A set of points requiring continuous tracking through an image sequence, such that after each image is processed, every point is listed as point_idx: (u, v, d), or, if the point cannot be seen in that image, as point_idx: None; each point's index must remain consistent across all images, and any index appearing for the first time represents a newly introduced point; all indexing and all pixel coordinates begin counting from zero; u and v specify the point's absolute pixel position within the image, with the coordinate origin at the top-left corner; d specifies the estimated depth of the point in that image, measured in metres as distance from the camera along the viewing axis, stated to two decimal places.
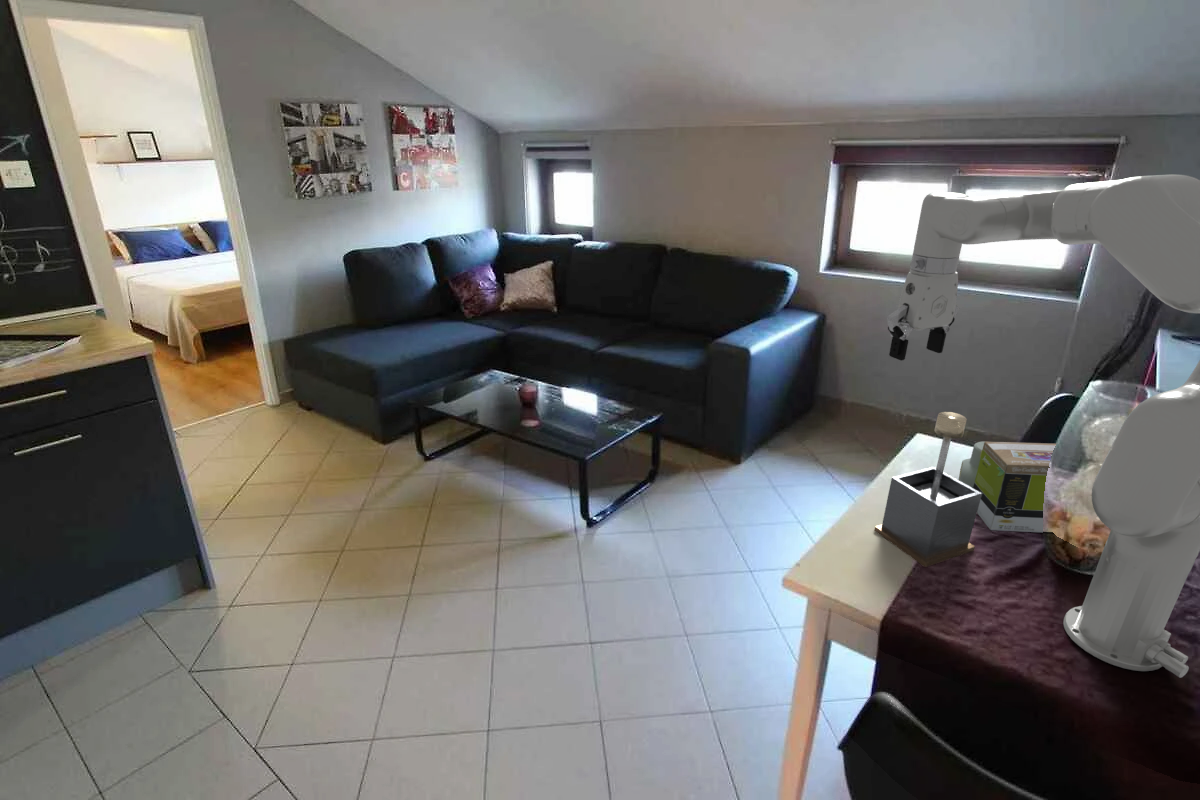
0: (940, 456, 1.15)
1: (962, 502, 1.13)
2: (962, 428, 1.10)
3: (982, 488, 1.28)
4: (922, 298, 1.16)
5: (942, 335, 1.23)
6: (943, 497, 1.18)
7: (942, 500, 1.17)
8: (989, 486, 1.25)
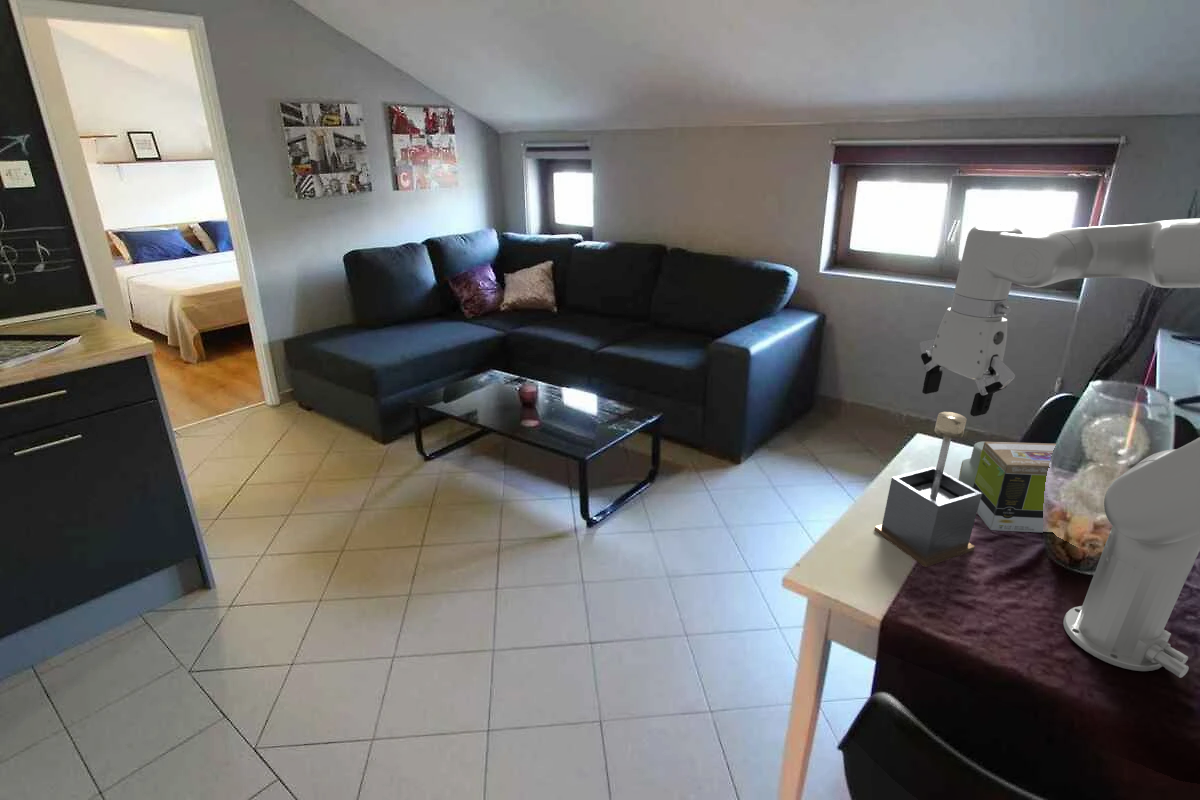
0: (940, 456, 1.15)
1: (962, 502, 1.13)
2: (962, 428, 1.10)
3: (982, 488, 1.28)
4: None
5: (941, 373, 1.14)
6: (943, 497, 1.18)
7: (942, 500, 1.17)
8: (989, 486, 1.25)
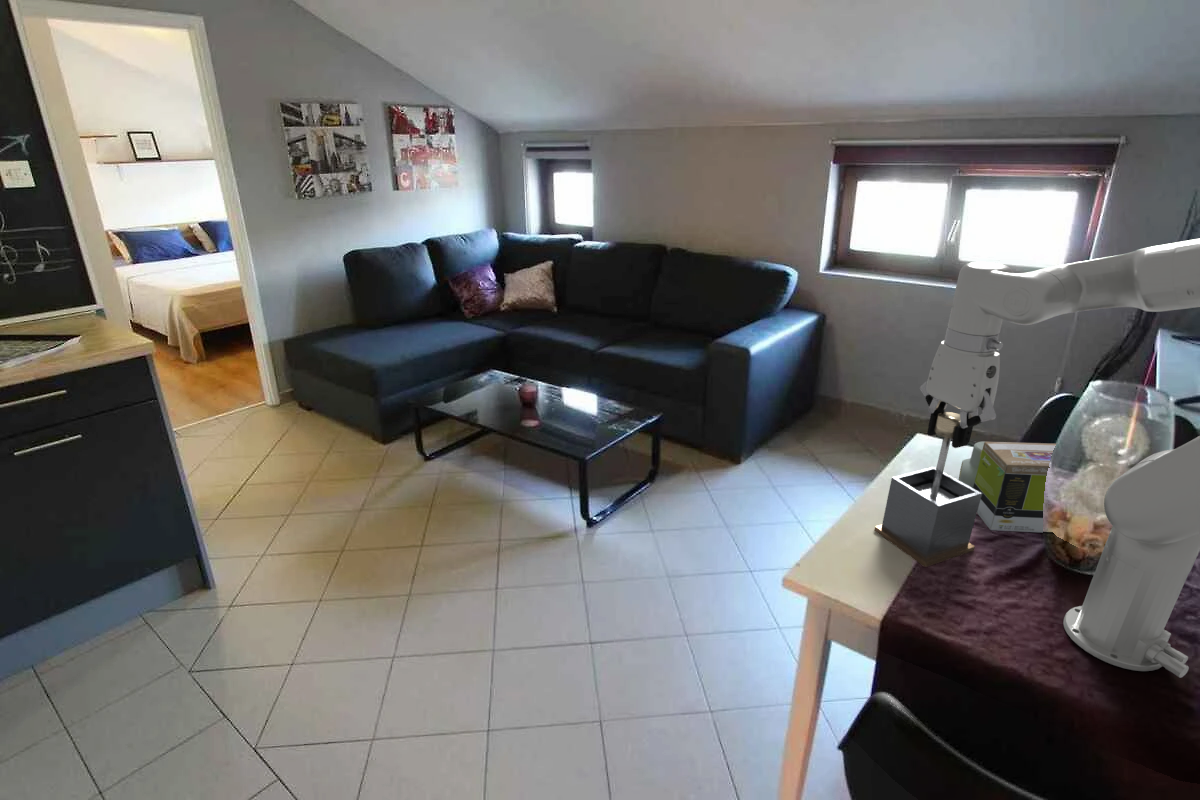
0: (940, 456, 1.15)
1: (962, 502, 1.13)
2: None
3: (982, 488, 1.28)
4: None
5: None
6: (943, 497, 1.18)
7: (942, 500, 1.17)
8: (989, 486, 1.25)
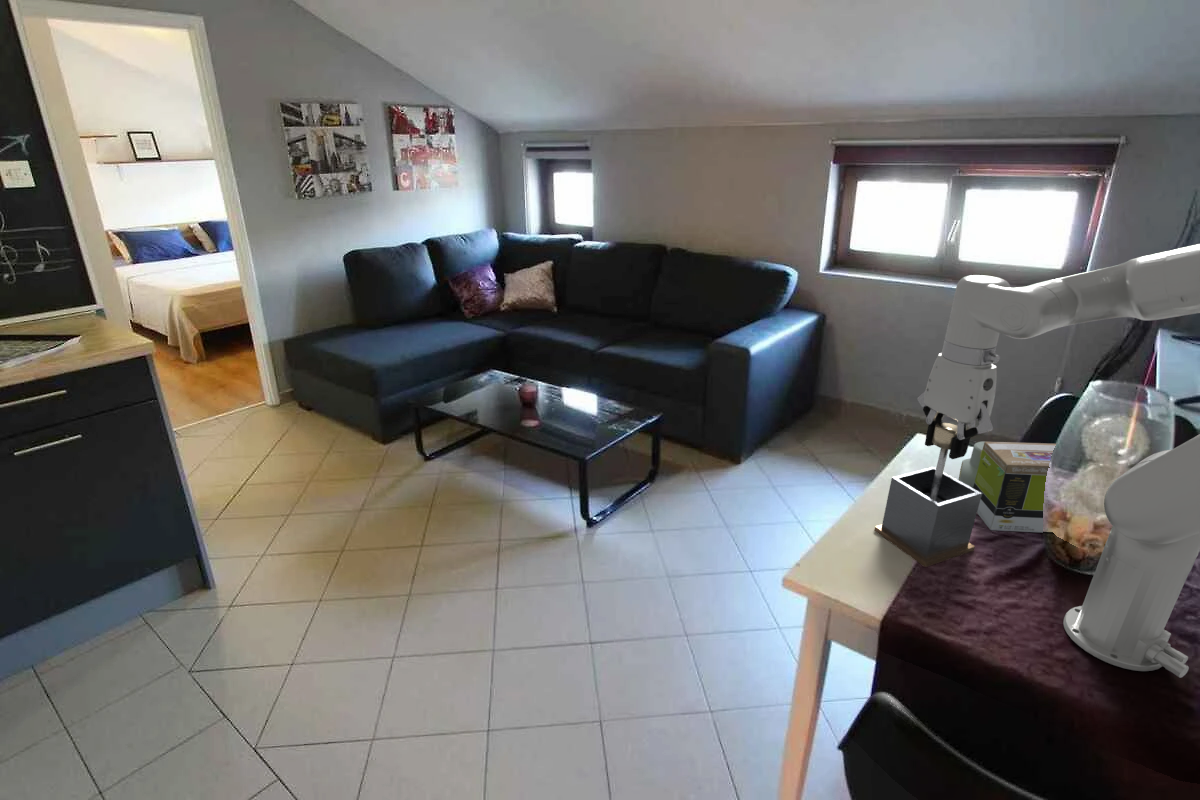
0: (937, 467, 1.15)
1: (962, 502, 1.13)
2: None
3: (982, 488, 1.28)
4: None
5: None
6: None
7: None
8: (989, 486, 1.25)
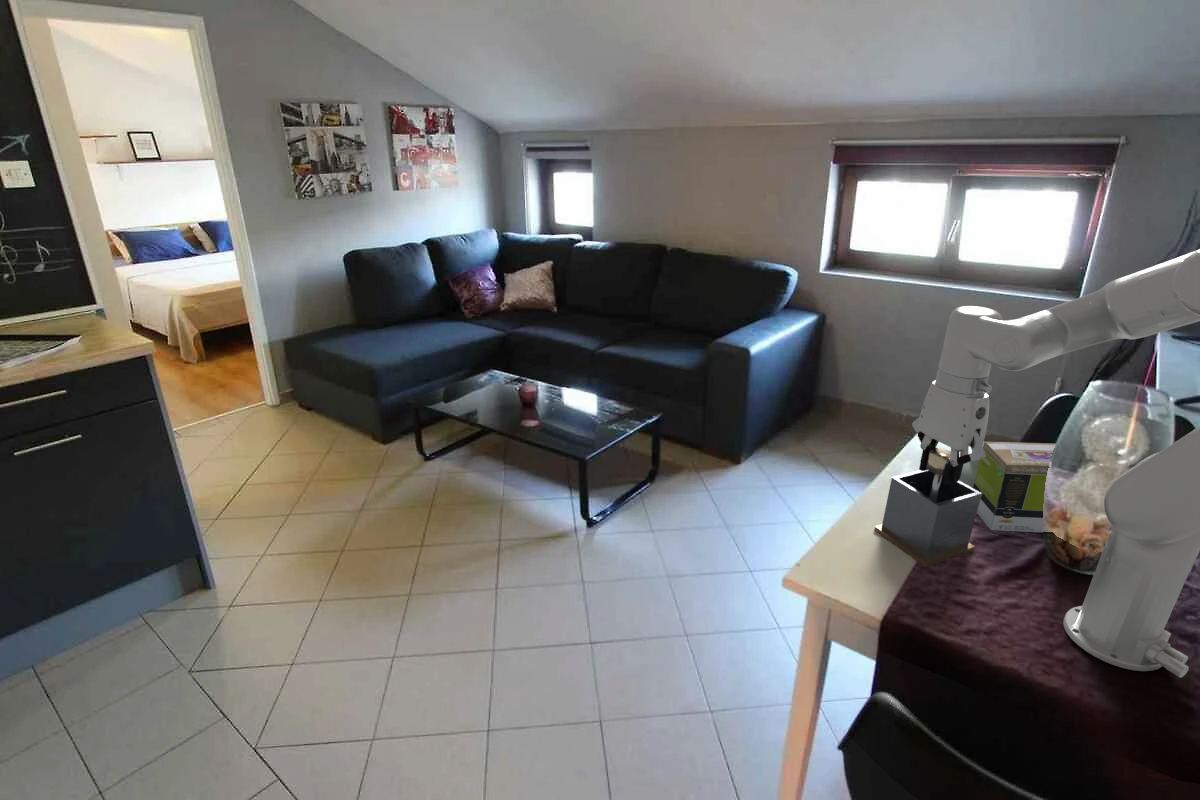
0: (932, 491, 1.17)
1: (962, 502, 1.13)
2: None
3: (982, 488, 1.28)
4: None
5: None
6: None
7: None
8: (989, 486, 1.25)
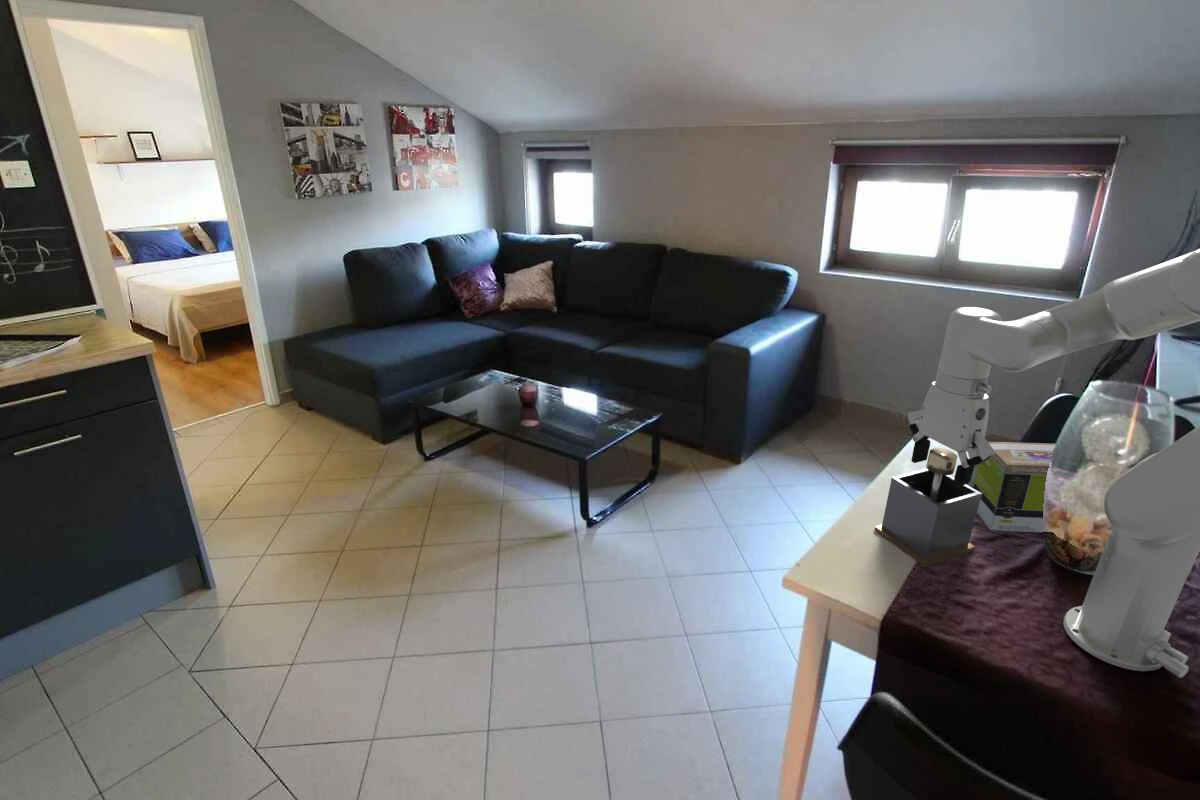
0: (932, 491, 1.17)
1: (962, 502, 1.13)
2: (953, 465, 1.13)
3: (982, 488, 1.28)
4: None
5: (929, 443, 1.19)
6: None
7: None
8: (989, 486, 1.25)
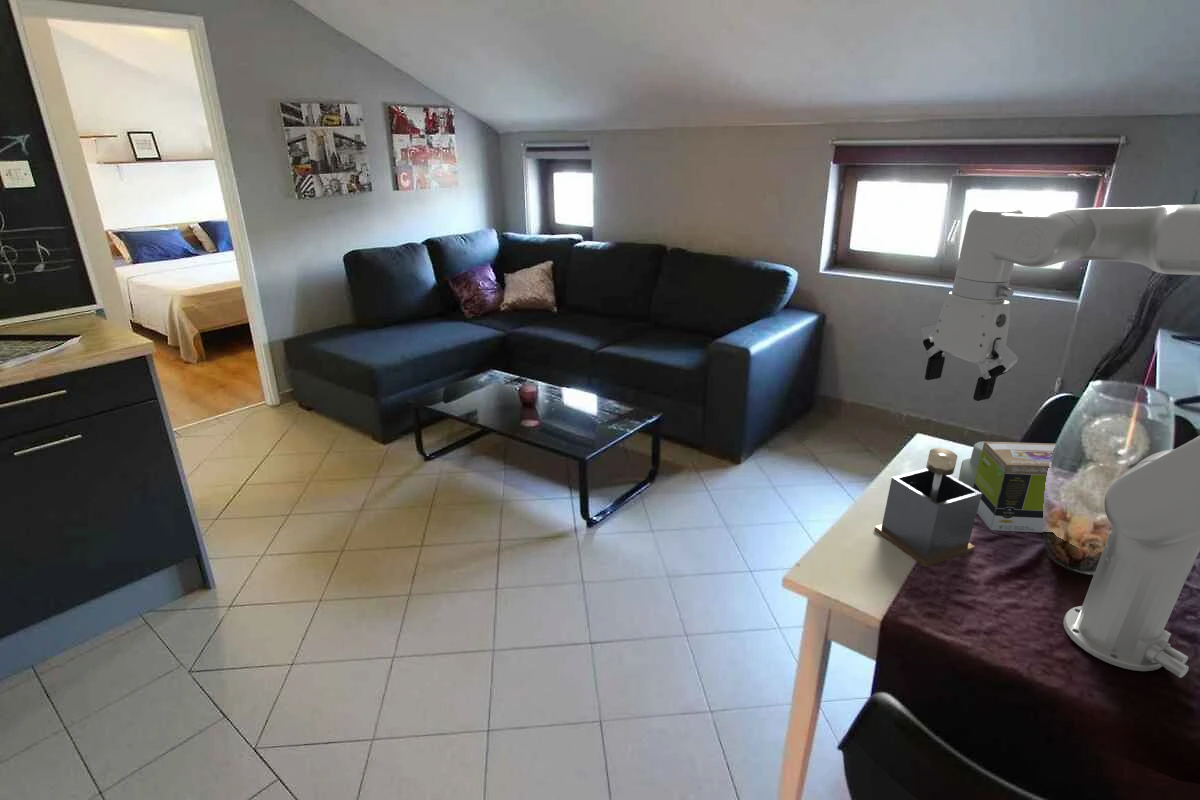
0: (932, 491, 1.17)
1: (962, 502, 1.13)
2: (953, 465, 1.13)
3: (982, 488, 1.28)
4: None
5: (944, 359, 1.13)
6: None
7: None
8: (989, 486, 1.25)
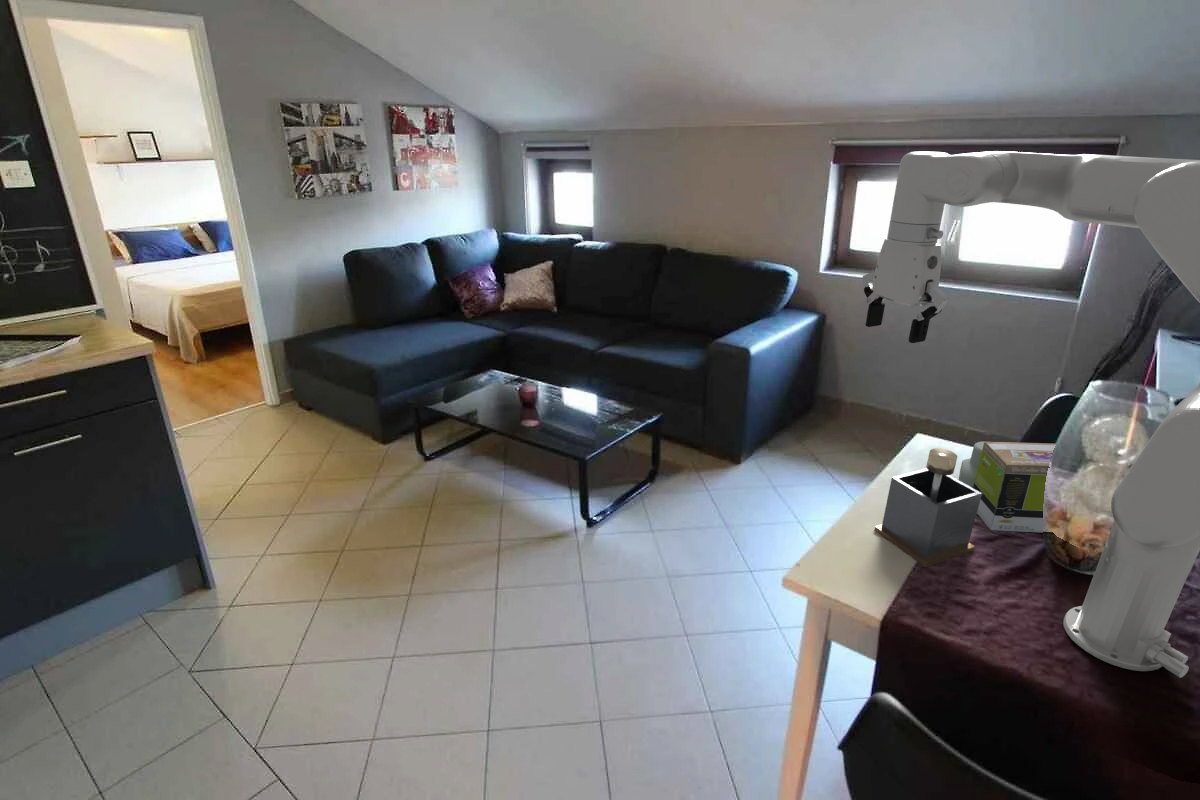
0: (932, 491, 1.17)
1: (962, 502, 1.13)
2: (953, 465, 1.13)
3: (982, 488, 1.28)
4: None
5: (884, 306, 1.16)
6: None
7: None
8: (989, 486, 1.25)
